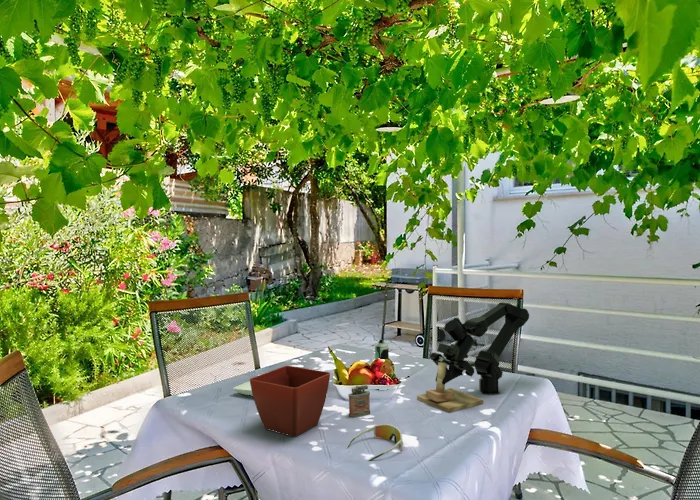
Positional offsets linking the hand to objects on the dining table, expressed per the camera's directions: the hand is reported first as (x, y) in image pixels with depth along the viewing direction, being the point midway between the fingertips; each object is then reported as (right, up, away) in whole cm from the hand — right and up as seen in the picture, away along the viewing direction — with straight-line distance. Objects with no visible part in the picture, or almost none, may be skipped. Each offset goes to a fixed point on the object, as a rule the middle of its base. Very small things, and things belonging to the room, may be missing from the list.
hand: (439, 382), depth 176 cm
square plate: (-61, -9, +19) cm, 64 cm away
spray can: (-20, -8, +20) cm, 29 cm away
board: (+4, -8, +3) cm, 9 cm away
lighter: (-29, -9, -9) cm, 32 cm away
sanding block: (0, -6, 0) cm, 6 cm away
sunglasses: (-25, -10, -36) cm, 45 cm away
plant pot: (-52, -9, -19) cm, 56 cm away
